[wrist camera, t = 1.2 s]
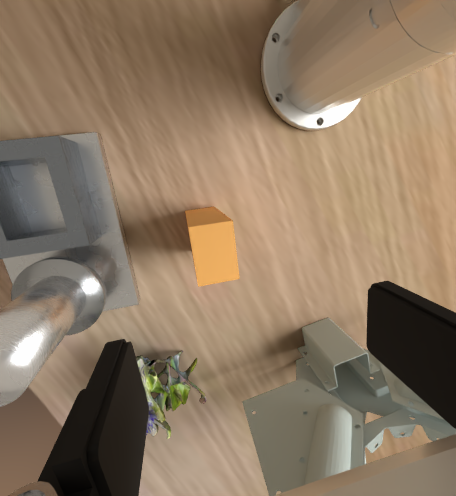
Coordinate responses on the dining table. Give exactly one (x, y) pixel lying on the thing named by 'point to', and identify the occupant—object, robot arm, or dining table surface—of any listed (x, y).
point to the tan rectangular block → (212, 245)
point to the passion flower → (164, 390)
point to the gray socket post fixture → (57, 249)
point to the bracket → (332, 412)
